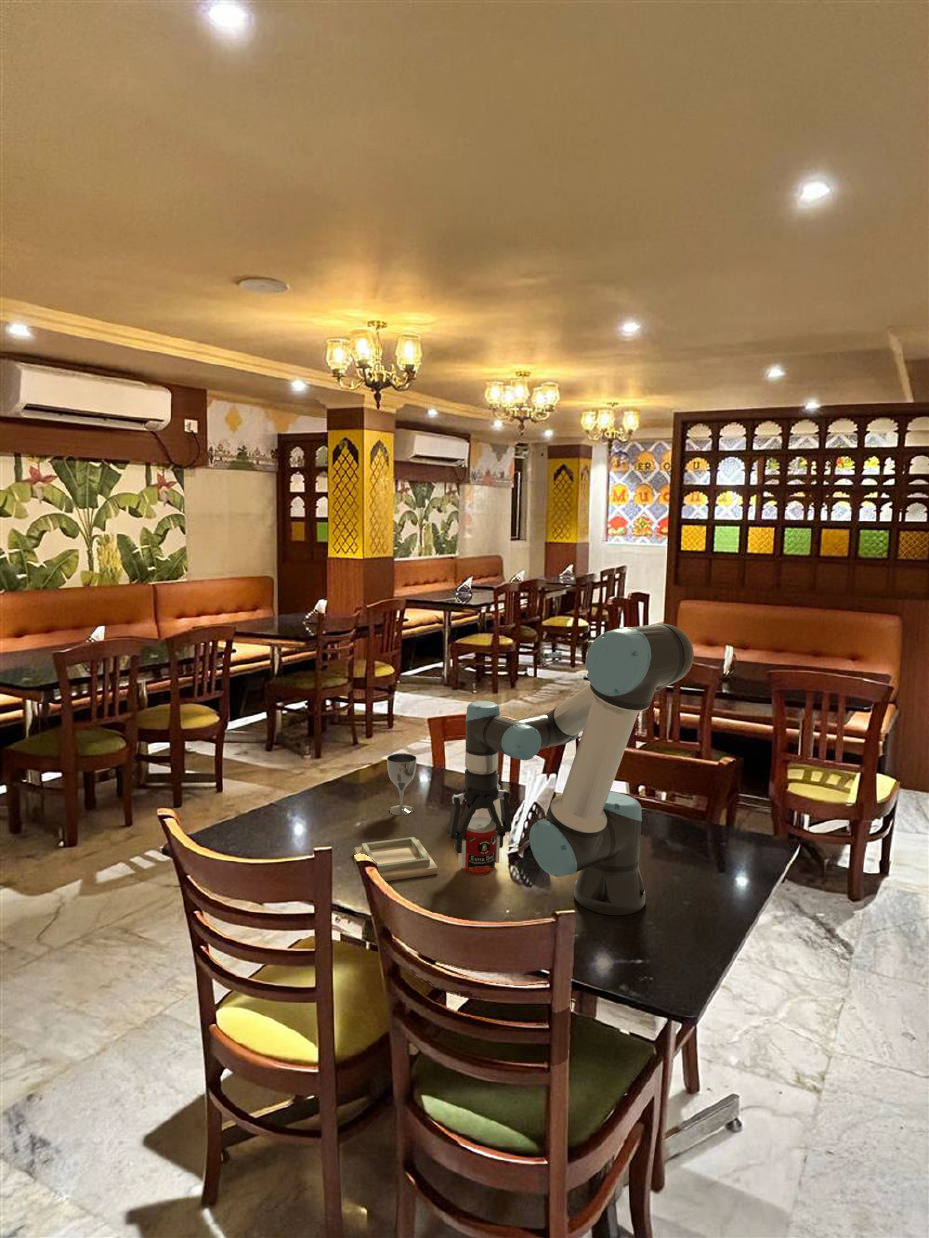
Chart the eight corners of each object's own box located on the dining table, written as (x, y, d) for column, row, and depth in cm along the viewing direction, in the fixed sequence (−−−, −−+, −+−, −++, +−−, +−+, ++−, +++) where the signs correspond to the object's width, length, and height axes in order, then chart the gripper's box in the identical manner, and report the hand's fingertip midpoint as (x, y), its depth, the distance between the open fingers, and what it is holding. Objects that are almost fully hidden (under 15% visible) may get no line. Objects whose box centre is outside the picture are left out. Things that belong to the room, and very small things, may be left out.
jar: (507, 831, 209) (508, 787, 207) (483, 839, 203) (484, 794, 202) (484, 820, 215) (485, 777, 214) (460, 828, 210) (461, 784, 209)
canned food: (467, 877, 183) (468, 831, 181) (458, 862, 191) (459, 817, 189) (499, 873, 185) (500, 828, 183) (489, 858, 193) (490, 815, 191)
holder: (437, 873, 184) (438, 861, 184) (369, 883, 179) (369, 870, 179) (418, 845, 199) (418, 833, 199) (354, 853, 194) (354, 841, 193)
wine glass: (382, 807, 223) (383, 755, 221) (409, 803, 227) (410, 751, 224) (392, 817, 216) (393, 763, 214) (420, 813, 219) (420, 760, 217)
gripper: (516, 759, 191) (513, 850, 195) (433, 767, 184) (431, 861, 188) (529, 770, 184) (525, 864, 188) (443, 778, 177) (441, 876, 181)
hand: (478, 862), depth 188 cm, fingers closed on canned food, 8 cm apart
